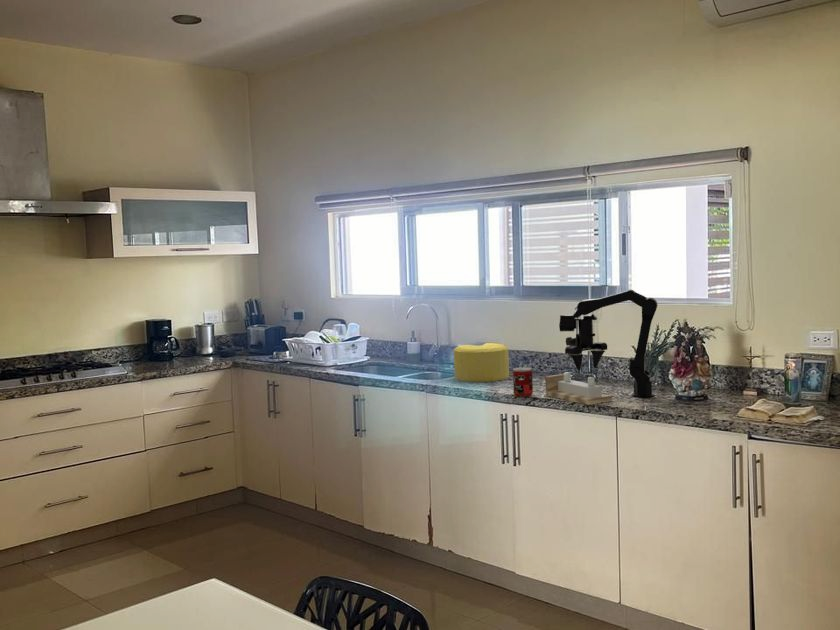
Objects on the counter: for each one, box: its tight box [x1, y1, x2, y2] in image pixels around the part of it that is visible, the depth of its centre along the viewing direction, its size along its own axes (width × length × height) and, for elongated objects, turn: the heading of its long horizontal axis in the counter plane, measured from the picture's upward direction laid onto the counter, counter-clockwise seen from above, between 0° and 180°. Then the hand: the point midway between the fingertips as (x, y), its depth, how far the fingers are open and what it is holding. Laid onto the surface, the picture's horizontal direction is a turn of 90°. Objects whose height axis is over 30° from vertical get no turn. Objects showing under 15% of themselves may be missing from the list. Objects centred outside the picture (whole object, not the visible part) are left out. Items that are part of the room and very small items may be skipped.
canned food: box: [512, 366, 534, 397], centre depth 329 cm, size 8×8×11 cm
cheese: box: [453, 342, 510, 383], centre depth 378 cm, size 26×26×15 cm
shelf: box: [545, 373, 613, 406], centre depth 317 cm, size 26×12×8 cm, turn 31°
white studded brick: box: [558, 371, 603, 398], centre depth 316 cm, size 20×6×8 cm, turn 27°
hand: (587, 369), depth 321 cm, fingers open, 9 cm apart
